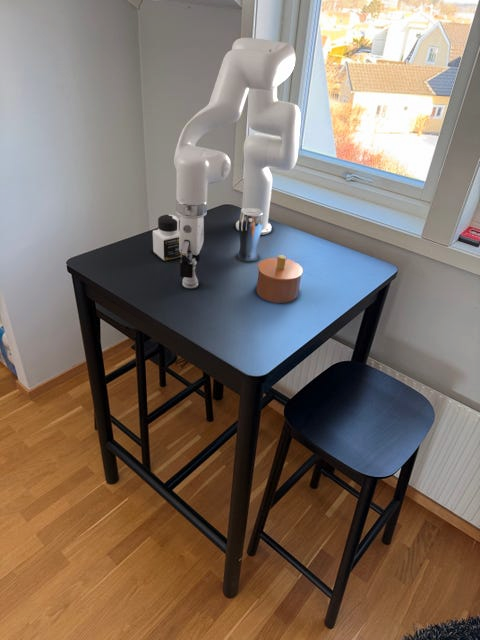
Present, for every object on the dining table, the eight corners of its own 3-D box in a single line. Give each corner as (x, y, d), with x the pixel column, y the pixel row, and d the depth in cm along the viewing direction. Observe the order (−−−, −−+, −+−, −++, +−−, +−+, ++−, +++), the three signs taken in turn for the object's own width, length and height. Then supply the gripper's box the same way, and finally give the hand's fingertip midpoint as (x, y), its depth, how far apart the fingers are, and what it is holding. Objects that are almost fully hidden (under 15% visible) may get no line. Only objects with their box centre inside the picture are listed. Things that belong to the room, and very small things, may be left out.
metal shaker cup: (256, 264, 143) (261, 217, 134) (234, 260, 143) (237, 213, 135) (260, 254, 148) (265, 209, 140) (238, 250, 149) (242, 205, 141)
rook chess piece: (186, 279, 132) (187, 254, 127) (201, 283, 130) (201, 257, 126) (179, 286, 128) (179, 260, 124) (194, 290, 127) (194, 264, 122)
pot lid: (259, 258, 131) (260, 244, 129) (302, 263, 131) (304, 249, 128) (255, 279, 121) (257, 264, 119) (302, 285, 121) (305, 270, 118)
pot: (258, 279, 135) (260, 257, 131) (297, 284, 134) (301, 262, 130) (255, 300, 125) (257, 277, 121) (297, 305, 125) (301, 282, 121)
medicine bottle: (164, 261, 140) (163, 223, 133) (152, 251, 144) (151, 214, 137) (184, 256, 143) (185, 219, 136) (173, 247, 148) (173, 210, 141)
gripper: (200, 221, 109) (198, 285, 119) (211, 197, 123) (208, 256, 133) (168, 218, 109) (168, 282, 119) (183, 194, 124) (182, 253, 133)
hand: (190, 268), depth 126 cm, fingers open, 9 cm apart
